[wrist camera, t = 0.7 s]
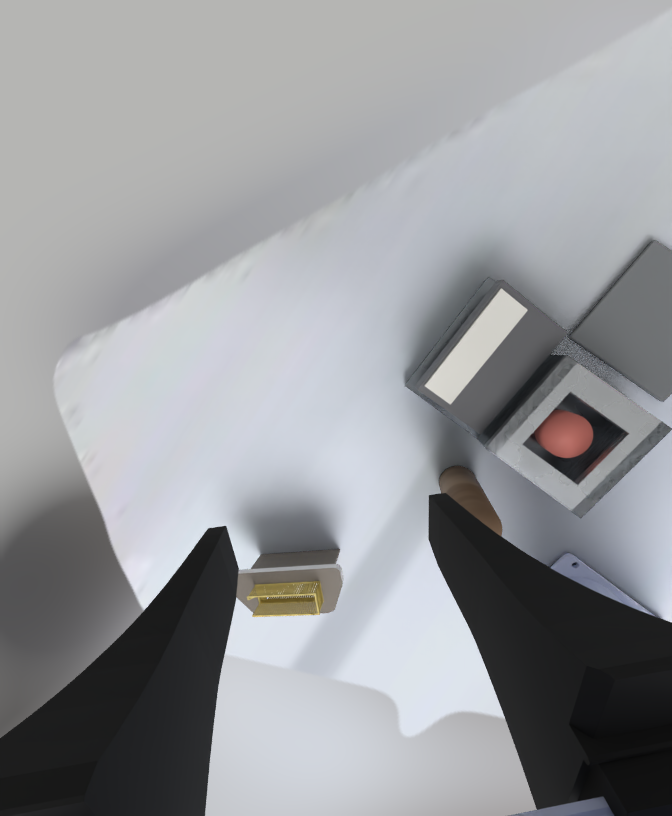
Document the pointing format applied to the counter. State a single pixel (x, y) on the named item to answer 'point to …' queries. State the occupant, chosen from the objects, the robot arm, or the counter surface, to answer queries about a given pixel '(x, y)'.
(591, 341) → the mat
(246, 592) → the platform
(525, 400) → the silver metal box
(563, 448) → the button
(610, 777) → the robot arm
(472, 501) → the brown cylinder
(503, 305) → the rocker
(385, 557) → the counter surface
